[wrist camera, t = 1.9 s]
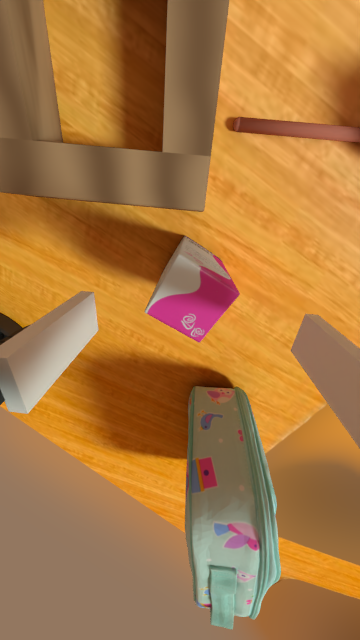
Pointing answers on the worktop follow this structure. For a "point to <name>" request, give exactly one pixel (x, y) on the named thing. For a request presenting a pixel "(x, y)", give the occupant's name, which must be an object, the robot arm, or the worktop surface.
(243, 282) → the worktop surface
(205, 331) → the supplement box
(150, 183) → the brown wooden square frame
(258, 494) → the lunch box
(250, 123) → the reddish-brown thin rod
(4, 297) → the worktop surface
